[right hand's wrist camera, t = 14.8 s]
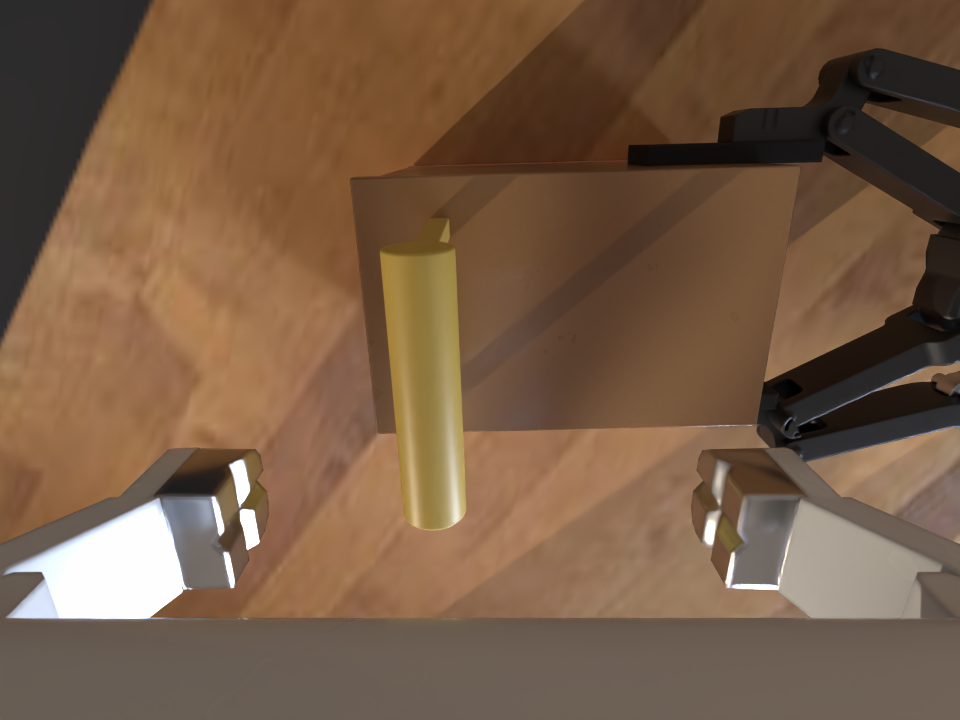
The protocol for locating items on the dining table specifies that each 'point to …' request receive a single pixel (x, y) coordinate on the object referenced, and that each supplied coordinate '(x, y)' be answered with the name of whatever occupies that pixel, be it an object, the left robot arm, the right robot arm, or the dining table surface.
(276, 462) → the dining table surface
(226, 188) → the dining table surface
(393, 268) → the lid
